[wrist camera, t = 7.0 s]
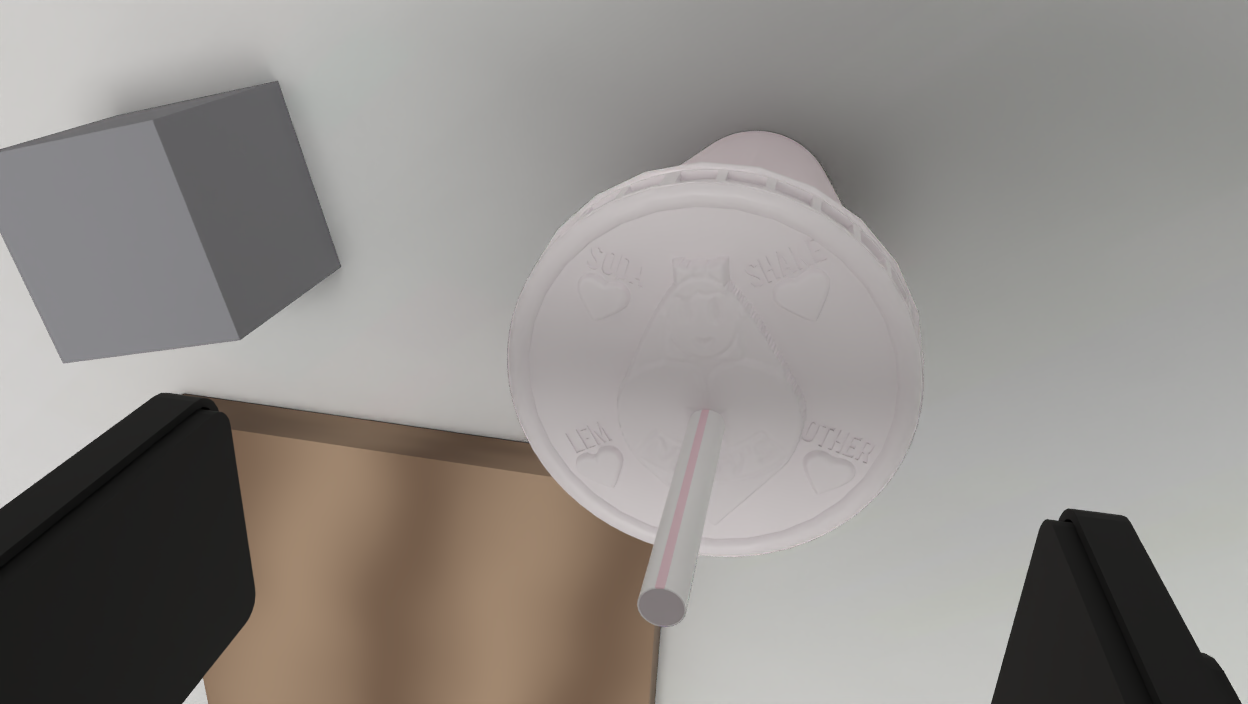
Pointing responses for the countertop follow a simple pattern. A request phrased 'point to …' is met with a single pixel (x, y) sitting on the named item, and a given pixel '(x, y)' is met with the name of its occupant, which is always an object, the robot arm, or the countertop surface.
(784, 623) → the countertop surface
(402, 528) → the walnut board
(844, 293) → the smoothie
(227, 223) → the rubber block
